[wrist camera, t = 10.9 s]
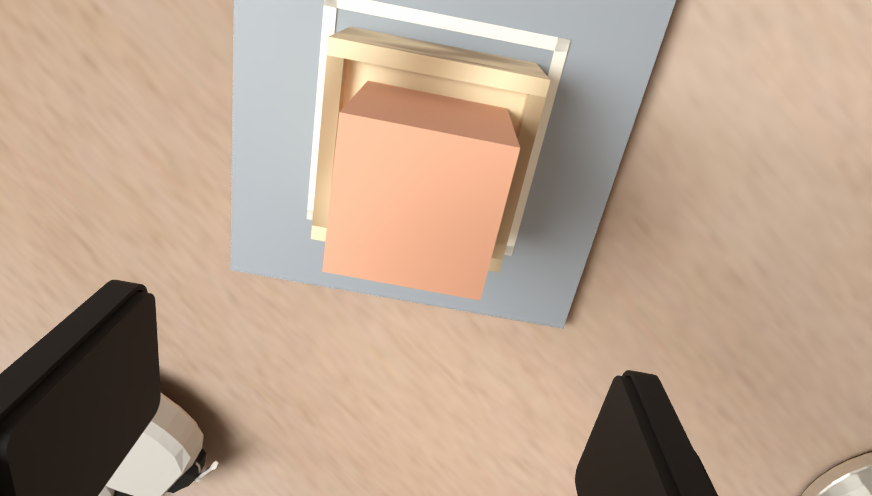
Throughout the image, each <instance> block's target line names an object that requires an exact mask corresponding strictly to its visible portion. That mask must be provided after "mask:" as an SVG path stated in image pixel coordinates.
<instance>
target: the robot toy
mask: <svg viewBox="0 0 872 496" xmlns="http://www.w3.org/2000/svg"><path fill="white" fill-rule="evenodd" d="M203 437H204V435H203V433H202V432H201V430H200V429H199V427H198V425H197V423H196V421H195V420H194V419H193V418H192V417H191V416H190V415H189V414H187V413H186V412H185V411H184V410H183V409H182V408H181V407H180V406H178V405H177V404H176V403H174V402H173V401H172V400H170V399H169V398H168V397H166V396H165V395H163V394H162V393H161V400H160V405H159V408H158V411H157V413H156V415H155V416H154V418H153V419H152V421H151V422H150V423H149V425H148V426H147V428H146V429H145V430H144V432H143V433H142V435H141V436H140V438H139V439H138V440H137V442H136V443H135V445H134V446H133V447H132V449H131V450H130V452H129V453H128V454H127V456H126V457H125V459H124V460H123V462H122V463H121V464H120V466H119V467H118V469H117V470H116V471H115V473H114V474H113V476H112V477H111V479H110V480H109V481H108V483H107V484H106V486H105V487H104V488H103V490H102V491H101V493H100V494H99V495H98V496H162V495H163V494H165V493H166V492H171V493H175V492H176V491H178V490H180V489H182V488H185V487H187V486H189V485H190V484H191V483H192V482H193V481H195V482H197V483H198V482H199V481H200V480H201V479H202V477H203V476H204V475H206V474H207V473H209V472H210V471H211V470H214V469H216V467H217V466H218V464H219V462H217V461H215V462H213V464H212V465H211V466H209V467H208V468H206V469H205V470H204V471H202V472H201V470H202V468H203V466H204V463H205V457H206V452H205V451H204V449H203V448H202V445H203Z"/></svg>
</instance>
